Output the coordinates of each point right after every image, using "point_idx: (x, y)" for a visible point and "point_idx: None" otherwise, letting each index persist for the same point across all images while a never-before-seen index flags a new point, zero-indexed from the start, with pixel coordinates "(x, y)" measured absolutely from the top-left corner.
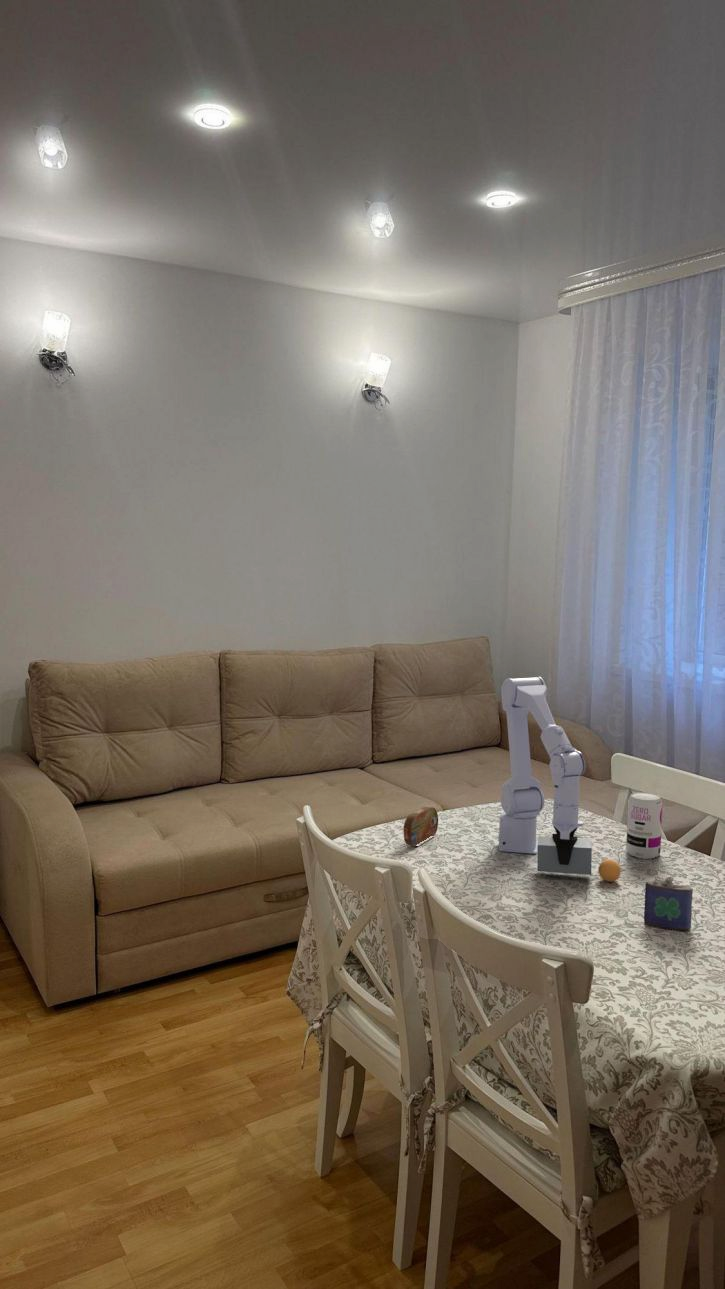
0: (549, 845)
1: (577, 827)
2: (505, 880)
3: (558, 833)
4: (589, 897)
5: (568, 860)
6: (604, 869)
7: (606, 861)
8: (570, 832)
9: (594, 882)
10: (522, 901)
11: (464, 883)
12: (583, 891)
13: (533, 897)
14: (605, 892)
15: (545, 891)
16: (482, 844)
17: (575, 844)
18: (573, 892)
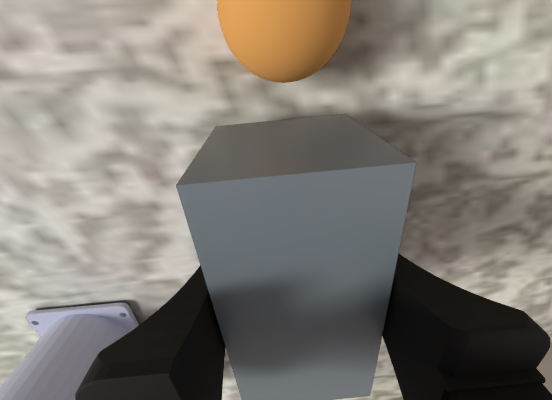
0: (375, 365)
1: (174, 361)
2: None
3: (219, 378)
4: (481, 100)
5: None
6: (340, 41)
7: (307, 26)
8: (200, 345)
9: (315, 93)
10: (498, 279)
11: (389, 378)
12: (420, 129)
13: (472, 261)
14: (426, 31)
15: (426, 241)
16: None
17: (338, 271)
18: (431, 163)
